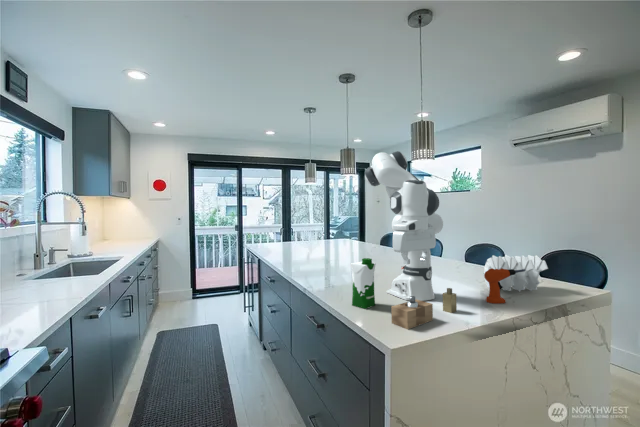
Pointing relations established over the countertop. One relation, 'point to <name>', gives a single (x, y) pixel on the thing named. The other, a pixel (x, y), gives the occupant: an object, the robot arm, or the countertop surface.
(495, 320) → the countertop surface
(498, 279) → the toy drill
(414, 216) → the robot arm
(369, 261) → the milk carton
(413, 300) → the cylinder
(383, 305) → the countertop surface
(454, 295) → the square bit
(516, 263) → the spiral staircase
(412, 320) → the socket block
